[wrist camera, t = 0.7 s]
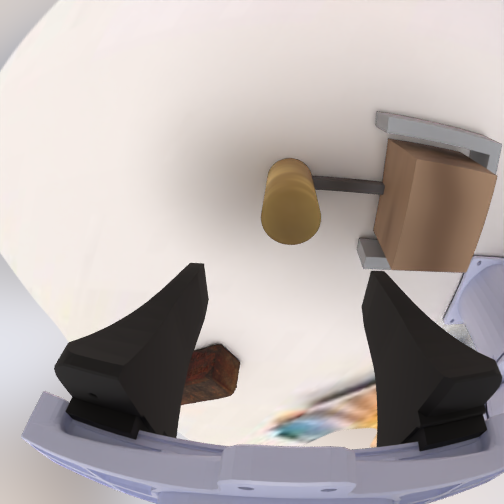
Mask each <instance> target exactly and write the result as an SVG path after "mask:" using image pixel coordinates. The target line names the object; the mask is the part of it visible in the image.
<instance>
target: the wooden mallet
mask: <svg viewBox="0 0 504 504" xmlns="http://www.w3.org/2000/svg"><path fill="white" fill-rule="evenodd" d="M496 180H497V175H495V174H494V173H492V172H491V171H489V170H488V169H486V168H485V167H483V166H482V165H480V164H479V163H477V162H475V161H474V160H472V159H471V158H469V157H467V156H466V155H464V154H462V153H460V152H457V151H453V150H448V149H444V148H439V147H434V146H429V145H424V144H418V143H413V142H407V141H401V140H394V139H388V144H387V152H386V160H385V167H384V173H383V180H382V182H377V181H368V180H357V179H346V178H334V177H320V176H312V175H311V172H310V170H309V168H308V167H307V166H306V165H305V164H304V163H303V162H301V161H299V160H297V159H292V158H287V159H282V160H280V161H278V162H276V163H275V164H274V165H273V166H272V167H271V169H270V170H269V173H268V178H267V184H266V189H265V195H264V201H263V207H262V213H261V222H262V226H263V228H264V230H265V232H266V233H267V234H268V236H269V237H271V238H272V239H273V240H275V241H277V242H279V243H282V244H287V245H295V244H300V243H303V242H305V241H307V240H309V239H310V238H312V237H313V236H314V235H315V233H316V232H317V231H318V229H319V226H320V222H321V213H320V209H319V204H318V200H317V196H316V192H315V189H316V190H331V191H344V192H356V193H368V194H378V195H380V198H379V204H378V209H377V214H376V219H375V225H374V229H373V231H374V233H375V235H376V237H377V239H378V241H379V243H380V246H381V248H382V250H383V252H384V254H385V256H386V259H387V261H388V263H389V265H390V268H391V270H408V271H435V272H464V273H466V272H467V269H468V267H469V264H470V262H471V259H472V257H473V254H474V251H475V249H476V246H477V243H478V240H479V238H480V235H481V232H482V229H483V226H484V223H485V219H486V216H487V213H488V209H489V206H490V203H491V199H492V195H493V192H494V188H495V184H496Z"/></svg>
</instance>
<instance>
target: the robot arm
mask: <svg viewBox="0 0 504 504" xmlns="http://www.w3.org/2000/svg"><path fill="white" fill-rule="evenodd" d="M478 261H479V262H478ZM208 300H209V299H208V292H207V284H206V277H205V269H204V264H202V263H190V264H189V265H188V266H186V267H185V268H184V269H183V270H182V271H181V272H180V273H179V274H178V275H177V276H176V277H175V278H174V279H173V280H172V281H171V282H170V283H168V284H167V285H166V286H165V287H164V288H163V289H162V290H161V291H160V292H158V293H157V294H156V295H155V296H154V297H152V298H151V299H150V300H149V301H148V302H146V303H145V304H144V305H142V306H141V307H140V308H138V309H137V310H135V311H134V312H132V313H131V314H129V315H128V316H126V317H124V318H122V319H121V320H119V321H117V322H115V323H114V324H112V325H110V326H108V327H106V328H104V329H102V330H100V331H98V332H95V333H93V334H91V335H88V336H86V337H83V338H80V339H77V340H74V341H72V342H69V343H68V344H67V346H66V348H65V349H64V351H63V353H62V354H61V356H60V358H59V359H58V361H57V363H56V365H55V368H54V370H55V373H56V375H57V377H58V379H59V380H60V381H61V383H62V384H63V386H64V387H65V388H66V389H67V391H68V392H69V393H70V394H71V395H72V399H71V401H70V403H69V402H68V401H66V400H65V399H63V398H61V397H58V396H56V395H53V394H51V393H48V392H46V391H44V392H43V393H42V395H41V397H40V399H39V401H38V403H37V405H36V406H35V409H34V411H33V413H32V414H31V416H30V419H29V421H28V423H27V425H26V427H25V429H24V431H23V433H22V435H21V437H22V439H23V440H25V441H26V442H27V443H28V444H30V445H31V446H32V447H33V448H35V449H36V450H37V451H39V452H40V453H42V454H43V455H44V456H46V457H47V458H48V459H50V460H51V461H53V462H54V463H56V464H59V465H60V466H63V467H65V468H67V469H69V470H71V471H73V472H75V473H77V474H80V475H82V476H84V477H86V478H88V479H91V480H93V481H95V482H98V483H100V484H102V485H105V486H107V487H110V488H112V489H115V490H118V491H120V492H123V493H126V494H128V495H131V496H134V497H137V498H140V499H143V500H147V501H149V502H153V503H156V504H428V503H431V502H434V501H437V500H440V499H444V498H446V497H449V496H452V495H455V494H458V493H461V492H464V491H466V490H469V489H471V488H474V487H477V486H479V485H482V484H484V483H487V482H489V481H490V480H492V479H494V478H496V477H497V476H499V475H500V474H502V473H504V258H498V257H484V256H473V257H472V259H471V262H470V264H469V267H468V269H467V272H466V273H464V276H463V278H462V281H461V283H460V285H459V287H458V290H457V292H456V294H455V296H454V299H453V301H452V303H451V305H450V307H449V309H448V311H447V313H446V315H445V317H444V320H443V321H444V323H445V324H463V323H464V324H465V326H466V328H467V330H468V332H469V334H470V337H471V339H472V341H473V343H474V345H475V348H476V350H477V351H475V350H474V349H472V348H470V347H468V346H467V345H465V344H463V343H462V342H460V341H459V340H457V339H456V338H454V337H453V336H452V335H450V334H449V333H447V332H446V331H445V330H443V329H442V328H441V327H440V326H438V325H437V324H436V323H435V322H434V321H432V320H431V319H430V318H429V317H428V316H427V315H426V314H425V313H424V312H423V311H422V310H420V309H419V308H418V307H417V306H416V305H415V304H414V303H413V302H412V300H411V299H410V298H409V297H408V296H407V295H406V294H405V293H404V292H403V291H402V290H401V289H400V288H399V287H398V285H397V284H396V283H395V282H394V281H393V280H392V279H391V278H390V277H389V276H388V275H387V274H386V273H385V272H384V271H371V273H370V277H369V281H368V285H367V289H366V293H365V296H364V300H363V304H362V313H363V322H364V328H365V332H366V336H367V341H368V345H369V349H370V353H371V358H372V362H373V366H374V372H375V380H376V391H377V415H378V426H377V447H375V448H365V449H352V450H350V449H348V448H345V447H331V446H326V447H291V446H267V445H234V446H221V445H214V444H207V443H200V442H194V441H188V440H182V439H177V438H176V436H177V428H178V420H179V414H180V407H181V401H182V396H183V390H184V385H185V380H186V376H187V371H188V367H189V363H190V360H191V357H192V354H193V351H194V348H195V345H196V342H197V340H198V337H199V334H200V331H201V328H202V325H203V322H204V319H205V315H206V310H207V305H208Z"/></svg>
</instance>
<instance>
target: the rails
mask: <svg viewBox="0 0 504 504" xmlns="http://www.w3.org/2000/svg"><path fill="white" fill-rule="evenodd" d="M376 126H377V127H378V128H380V129H381V130H383V131H385V132H386V133H390V134H397V135H403V136H408V137H414V138H419V139H425V140H430V141H435V142H439V143H444V144H448V145H453V146H457V147H461V148H465V149H469V150H471V153H470V158H471V159H472V160H474V161H475V162H477V163H479V164H480V165H482V166H483V167H485V168H486V169H488V170H489V171H491V172H492V173H494V174H495V175H496V172H497V167H498V162H499V158H500V152H501V147H502V144H500V143H498V142H496V141H494V140H492V139H490V138H488V137H486V136H484V135H481V134H477V133H474V132H470V131H467V130H463V129H459V128H456V127H452V126H448V125H444V124H440V123H435V122H431V121H426V120H422V119H417V118H412V117H407V116H402V115H396V114H390V113H384V112H378V111H377V115H376ZM357 251H358V254H359V257H360V260H361V263H362V266H363V269H382V270H391V268H390V265H389V263H388V261H387V259H386V256H385V254H384V252H383V250H382V248H381V246H380V243H379V241H378V240H377V239H362V238H359V242H358V247H357ZM405 271H408V270H405ZM430 272H435V271H430ZM457 273H464V272H457Z"/></svg>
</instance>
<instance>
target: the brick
mask: <svg viewBox="0 0 504 504" xmlns="http://www.w3.org/2000/svg"><path fill="white" fill-rule="evenodd" d="M239 368H240V362H239V360H237V359H236V358H235V357H234V356H233V355H232V354H231V353H230V352H229V351H228V350H226V349H225V348H224V347H223V346H222V345H219V344H216V345H213V346H209V347H208V348H205V349H201V350H195V351H193V354H192V357H191V360H190V363H189V367H188V371H187V376H186V380H185V385H184V390H183V396H182V401H181V405H184V404H190V403H196V402H201V401H207V400H214V399H219V398H224V397H228V396H231V395H232V394H233V393H234V391H235V390H236V389H235V388H237V380H238V373H239Z"/></svg>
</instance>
